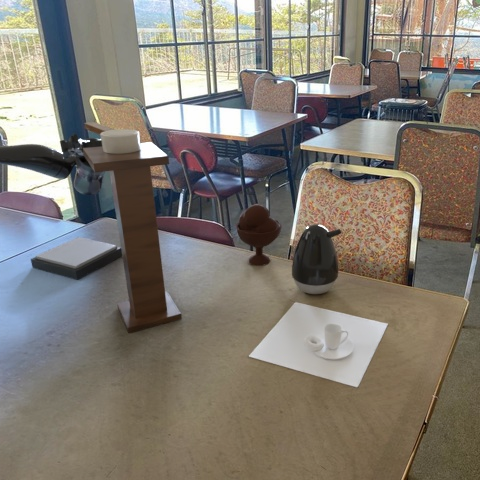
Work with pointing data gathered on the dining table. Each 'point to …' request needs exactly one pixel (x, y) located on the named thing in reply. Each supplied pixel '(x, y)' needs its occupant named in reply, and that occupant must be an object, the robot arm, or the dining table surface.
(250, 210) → the ice cream bowl
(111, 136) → the white handled cylinder
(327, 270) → the pump dispenser
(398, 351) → the dining table surface
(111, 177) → the wooden lectern stand
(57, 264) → the scale
